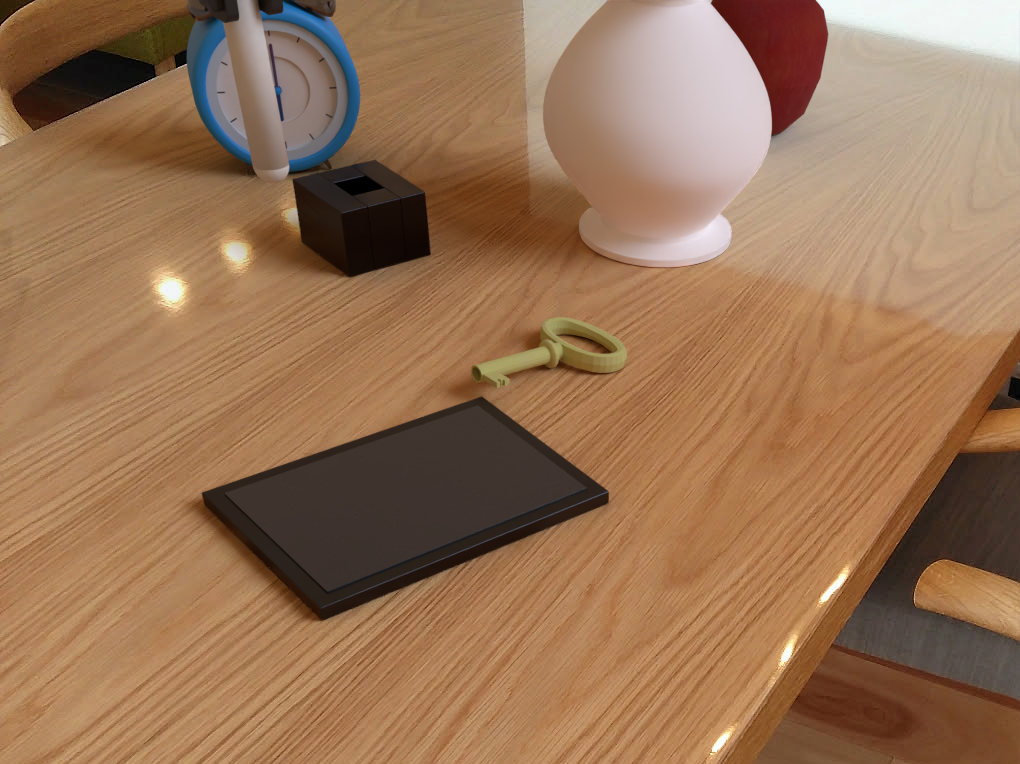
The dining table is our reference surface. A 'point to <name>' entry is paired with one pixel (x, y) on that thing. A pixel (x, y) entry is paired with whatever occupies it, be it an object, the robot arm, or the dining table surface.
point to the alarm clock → (280, 81)
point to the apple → (781, 49)
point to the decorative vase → (657, 128)
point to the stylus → (257, 93)
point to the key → (556, 353)
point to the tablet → (402, 504)
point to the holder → (362, 217)
